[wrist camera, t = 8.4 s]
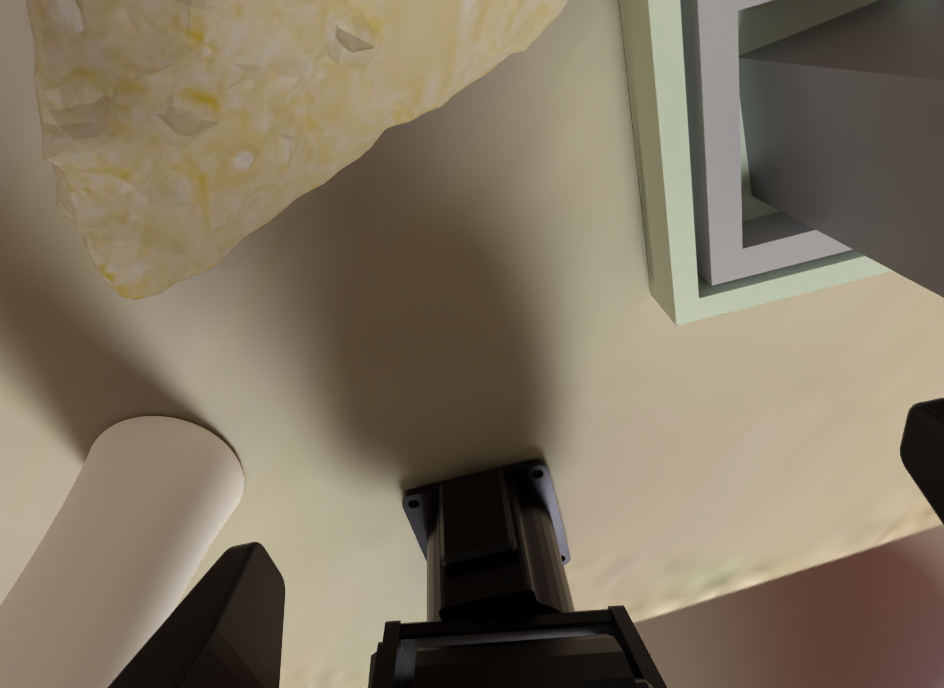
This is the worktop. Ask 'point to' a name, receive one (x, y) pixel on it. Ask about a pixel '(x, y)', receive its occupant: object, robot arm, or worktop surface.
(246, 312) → the worktop surface
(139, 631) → the cosmetic bottle
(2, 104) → the worktop surface
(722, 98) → the box
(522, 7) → the cheese
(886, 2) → the plug
